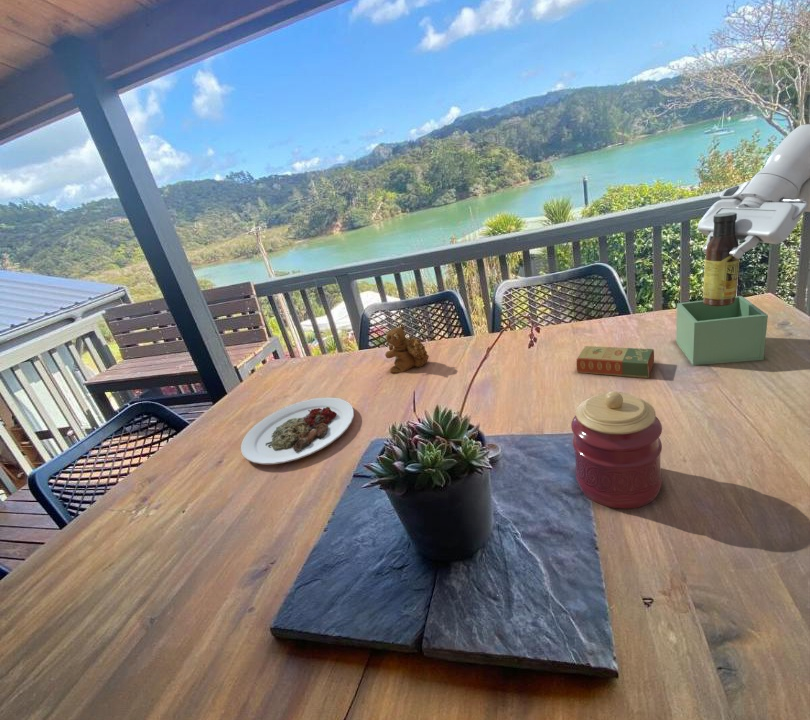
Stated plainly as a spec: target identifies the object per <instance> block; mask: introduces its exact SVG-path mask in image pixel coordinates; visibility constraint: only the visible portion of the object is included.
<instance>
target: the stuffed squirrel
mask: <svg viewBox="0 0 810 720" xmlns="http://www.w3.org/2000/svg"><path fill="white" fill-rule="evenodd" d="M388 344H389V346H388ZM385 346H388V350H387V351H386V352H385V354H384V356H385V358H386V359H392V358H394V362H393V366H391V367H390V369H389V372H390V373H392V374H395V373H404V372H407V371H409V370H411V369H412V368H422V367H423V366H424V365H425V364H426V363H428V361H429V357H430V355H428V352H427V350H426V347H425V345H424V344H423V343H422V342H421V341H420V340H419V339H418V337H410V338H409V339H407V337H406V334H405V326H404V325H401V326H399V327H394V328H391V329H390V330H389V331H388V332H387V333H386V335H385Z"/></svg>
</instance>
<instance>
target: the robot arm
mask: <svg viewBox="0 0 810 720" xmlns="http://www.w3.org/2000/svg"><path fill="white" fill-rule="evenodd" d="M764 164H765V165H764V166H763V167H762V169H761V170H759V171H757V173H755V175H753V176H752V178H751V179H750V180H748V181H745V182H743V183H741V184H738V185H734V186H732V187H728V188H725V189H723V191H722V192H721V193H720V194H719V198H720V199H719V200H717V201H716V202H714V203H713V204H712V205H711V206H710V207H709V209H708V210H707V211H706V212H705V214H704V215H703V216H702V218H701V219H700V220H699V222H698V224H697V230H698V231H699V232H700V233H701V234H702V235H704V236H706V237H707V238H706V243H705V245H704V246H703V247H702V249H701V250H702V252H703V253H704V254H706V248H707V245H708V243H709V242H710V241H711V239H712V238H713V232H714V222H713V219H714V215H717V214H721V213H729V212H734V213H737V219H736V221H735V236H736V239H737V241H744V242H742V243H741V244H740V245H739V246H738V247H734V248H733V249H732V251H730V253H729V255H730V256H731V257H732V258H736V259H739V258H740V259H741V257H743V255H744V254H745V253H747V252H748V251H750V250H752V249H753V248H755V247H756V246H758V244H759V243H762V244H771V245H772V244H773V245H780V244H781V243H783V242H784V241H786V240H787V239H788V237H789V236H790V235H791V233H792V232H793V231H794V229H795V227H796V226H797V225H798V223H799V222H800V219H801V217H802V215H803V214H804V213H805V212H806V213H810V123H804V124H800V125H799V126H797V127H796V128H794V129H793V130H791V131H790V132H789V134H787V136H785V137H784V138H783V140H782V141H781V142H780V143H779V144H778V145H777V146H776V148H775V149H774V150H773V151H772V152H771V154H770V155H769V157H768V158H767V159H766V162H765V163H764ZM740 259H739V260H740Z"/></svg>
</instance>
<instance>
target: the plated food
mask: <svg viewBox="0 0 810 720" xmlns="http://www.w3.org/2000/svg"><path fill="white" fill-rule="evenodd" d="M354 417H355V410H354V409H353V406H352V404H351V403H350V402H348V401H347V400H345V399H343V398H338V397H316V398H310V399H305V400H302V401H298V402H295V403H292V404H288V405H287V406H284V407H282V408H280V409H278V410H276V411H274V412H272V413H270V414H268V415H266V417H265V418H263V419H261V420H260V421H258V422H257V423H256V424H255V425H254V426H253V427H251V428H250V429H249V431H247V433H246V434H245V435H244V437H243V439H242V442H241V443H240V444H241V445H240V451H241V455H242V456H243V457H244V459H246V460H247V461H249V462H251V463H252V464H259V465H278V464H284V463H290V462H293V461H297V460H300V459H302V458H305V457H307V456H310V455H313V454H315V453H316V452H318V451H321V450H322V449H324V448H325V447H327V446H329V445H331V444H332V443H333V442H335V441H336V440H337V439H339V438H340V437H341V436H342V435H343V434H345V432H346V431H347V430H348V428H349V427H350V426H351V424H352V422H353V420H354Z"/></svg>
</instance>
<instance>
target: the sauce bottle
mask: <svg viewBox="0 0 810 720" xmlns="http://www.w3.org/2000/svg"><path fill="white" fill-rule="evenodd" d="M736 219H737V213H734V212H729V213H721V214H717V215H714V219H713V222H714V232H713V238H712V239H711V241H710V242H709V243H708V245H707V248H706V253H705V258H704V266H703V267H704V269H703V270H704V271H703V284H702V285H703V286H702V297H703V299H702V300H703V302H704V303H705V304H706V305H709V306H726V305H730V304H733V303H734V302H735V297H736V296H737V292H738V291H737V290H738V281H739V280H738V279H739V270H740V259H741V257H740V258H739V259H736V258H732V257H731V256H730V255H729V253H730V251H732V249H733V248H734V247H738V246H740V245H739V242H738V240H737V239H736V236H735V221H736Z"/></svg>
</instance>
